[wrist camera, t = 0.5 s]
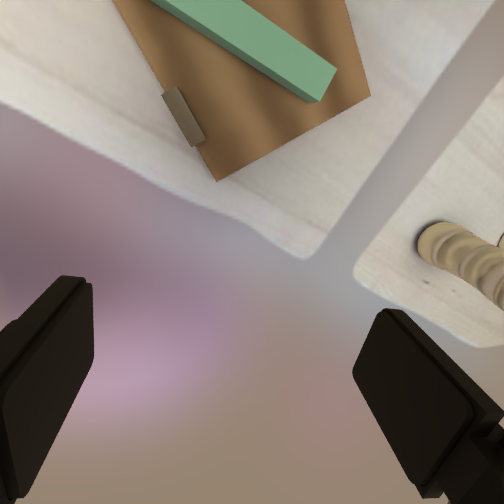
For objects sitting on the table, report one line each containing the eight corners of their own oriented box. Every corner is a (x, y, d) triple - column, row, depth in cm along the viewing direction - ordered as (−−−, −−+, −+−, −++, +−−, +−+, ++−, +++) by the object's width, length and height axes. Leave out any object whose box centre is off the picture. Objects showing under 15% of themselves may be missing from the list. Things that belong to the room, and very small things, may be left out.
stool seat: (289, -134, 25) (310, -206, 19) (357, 97, 33) (386, 92, 28) (105, -14, 27) (77, -49, 21) (214, 178, 35) (215, 188, 29)
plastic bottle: (443, 259, 44) (603, 353, 26) (404, 256, 43) (543, 353, 25) (460, 219, 42) (650, 293, 24) (419, 216, 41) (585, 290, 22)
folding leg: (123, -17, 24) (112, -35, 21) (135, -59, 23) (125, -83, 20) (310, 103, 30) (319, 101, 27) (325, 74, 29) (337, 68, 26)
